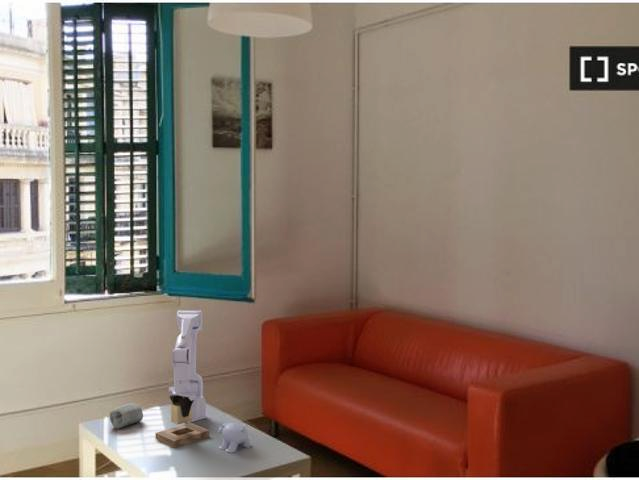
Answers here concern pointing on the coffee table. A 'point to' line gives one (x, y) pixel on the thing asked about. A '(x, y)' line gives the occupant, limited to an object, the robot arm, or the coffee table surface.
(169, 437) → the slot board
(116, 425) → the grey cylinder
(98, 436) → the coffee table surface
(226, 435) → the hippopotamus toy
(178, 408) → the key peg
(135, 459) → the coffee table surface
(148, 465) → the coffee table surface
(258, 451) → the coffee table surface
